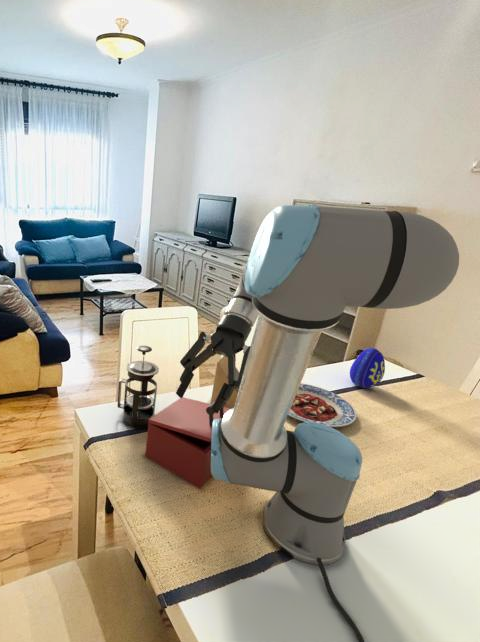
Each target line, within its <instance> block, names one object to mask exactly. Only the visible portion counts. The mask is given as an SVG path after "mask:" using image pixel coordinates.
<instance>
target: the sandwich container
mask: <svg viewBox="0 0 480 642" xmlns="http://www.w3.org/2000/svg"><path fill="white" fill-rule="evenodd" d="M239 373H240V370H239V369H238V368H237V367H236V381H238V377H239ZM224 383H227V384H229V383H228V357H225V356H223V355H222V357H221V358H220V359H219V360H217V363H216V368H215V373H214V380H213V386H212V392H211V399H210V404H213V403H214V402H215V401H216V399H217V397H218V395H219V392H220V390H221V388H222V386H223V384H224ZM238 391H239V388H236V389H234V391H233V393H232V395H231V397H230V399H229V400H228V401H226V405H225V406H224V407H225V408H229V409H232V408H234V406H235V403H236V399H237V395H238Z"/></svg>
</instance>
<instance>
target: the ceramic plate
mask: <svg viewBox="0 0 480 642" xmlns="http://www.w3.org/2000/svg"><path fill="white" fill-rule="evenodd" d="M288 416H289V417H291V418H293V419H295V420H298V421H300V422H302V423H304V422H316V423H320V424H324V425H326V426H329V427H331V428H342V427H346V426H349V425H352V424H353V423H355V421H356V420H357V411H356V409H355V408H354V407H353V405H352V404H351V403H349V401H347V400H345V399H344V398H343V397H342V396H340V395H338V394H336V393H334V392H332V391H330V390H328V389H325V388H322V387H319V386H316V385H313V384H307V383H302V382H301V384H300V386H299V388H298V391H297V393H296V396H295V398H294V401H293V403H292V406H291V408H290V411H289V413H288Z"/></svg>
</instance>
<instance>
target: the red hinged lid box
mask: <svg viewBox="0 0 480 642" xmlns="http://www.w3.org/2000/svg"><path fill="white" fill-rule="evenodd" d="M144 456H145V457H146V458H148V459H149V460H151V461H153V462H155V463H156V464H158V465H160V466H161V467H162V468H165V469H166V470H168V471H169V472H172V473H173V474H175V475H176V476H177V477H179V478H181V479H183V480H184V481H186V482H188V483H189V484H191V485H193V486H194V487H196V488H197V489H199V490H200V489H202V488H203V487H204V486H205V484H207V483H208V481H209V480H210V479H211V478H212V477H213V476H212V474H211V442H208V441H205V440H202V439H199V438H195V437H192V436H189V435H186V434H183V433H179V432H176V431H173V430H170V429H167V428H164V427H160V426H157V425H154V424H151V423H148V428H147V435H146V445H145V454H144Z"/></svg>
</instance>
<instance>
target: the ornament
mask: <svg viewBox="0 0 480 642" xmlns="http://www.w3.org/2000/svg"><path fill="white" fill-rule="evenodd" d="M385 371H386V364H385V357H384V355H383V353H382V351H380V350H378V349H377V348H375V347H368V348H366V349H364V350H363V351H361V353H360V354H359V355H357V357H356V359H354V361H353V362H352V365H351V366H350V369H349V378H350V380H351V382H352V383H353V385H355V386H357V387H359V388H361V389H366V390H367V389H368V390H369V389H371V388H374V387H375V386H377V385H378V384H379V383H380V382H381V381H382V379H383V378H384V376H385Z"/></svg>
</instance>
